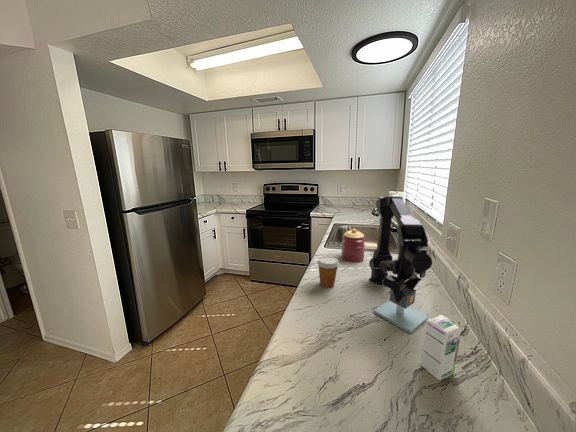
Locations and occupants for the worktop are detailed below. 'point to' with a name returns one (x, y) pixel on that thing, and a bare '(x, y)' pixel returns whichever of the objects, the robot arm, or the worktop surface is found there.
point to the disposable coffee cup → (327, 270)
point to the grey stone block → (399, 310)
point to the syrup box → (440, 346)
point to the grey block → (404, 298)
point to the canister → (353, 246)
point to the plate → (401, 316)
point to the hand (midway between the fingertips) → (402, 298)
